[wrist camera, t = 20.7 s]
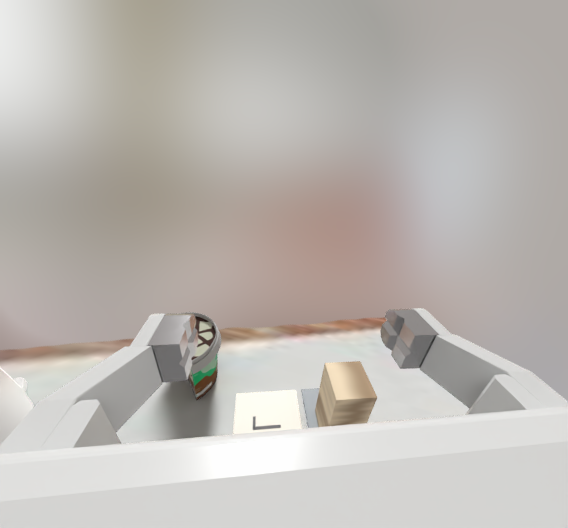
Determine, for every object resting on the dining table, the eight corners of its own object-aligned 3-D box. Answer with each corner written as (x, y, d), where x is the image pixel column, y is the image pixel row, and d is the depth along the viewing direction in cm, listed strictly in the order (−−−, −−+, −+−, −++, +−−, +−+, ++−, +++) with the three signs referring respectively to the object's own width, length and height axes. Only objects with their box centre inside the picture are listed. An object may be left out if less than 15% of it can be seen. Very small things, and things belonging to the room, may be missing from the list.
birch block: (323, 448, 30) (336, 400, 25) (314, 410, 35) (325, 363, 30) (357, 445, 31) (377, 397, 26) (345, 408, 35) (360, 361, 30)
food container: (235, 387, 38) (233, 345, 33) (199, 408, 34) (191, 364, 30) (210, 340, 46) (205, 302, 42) (178, 354, 43) (169, 313, 38)
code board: (227, 493, 26) (227, 493, 26) (236, 394, 37) (236, 393, 37) (378, 476, 28) (379, 475, 28) (346, 387, 39) (346, 386, 39)
